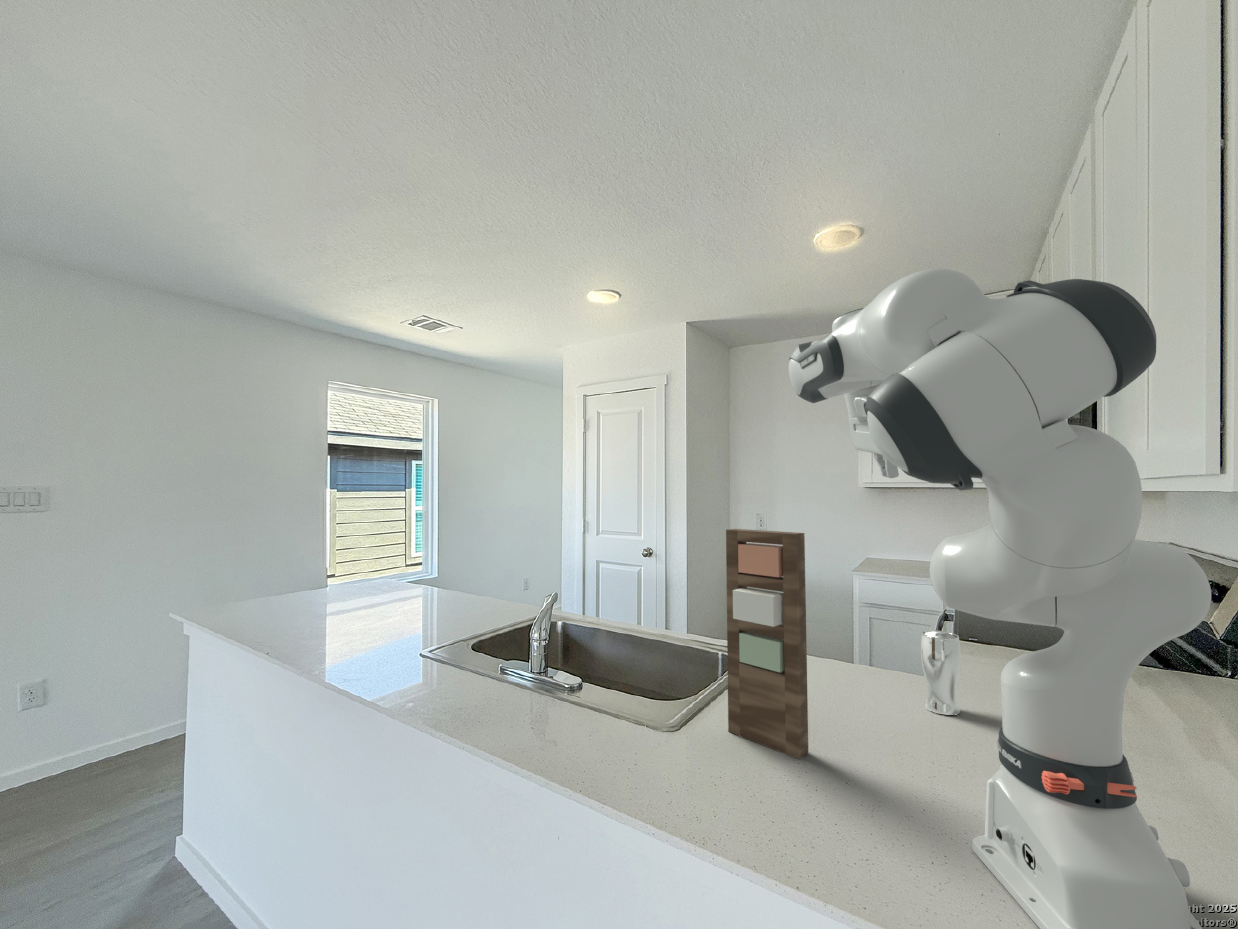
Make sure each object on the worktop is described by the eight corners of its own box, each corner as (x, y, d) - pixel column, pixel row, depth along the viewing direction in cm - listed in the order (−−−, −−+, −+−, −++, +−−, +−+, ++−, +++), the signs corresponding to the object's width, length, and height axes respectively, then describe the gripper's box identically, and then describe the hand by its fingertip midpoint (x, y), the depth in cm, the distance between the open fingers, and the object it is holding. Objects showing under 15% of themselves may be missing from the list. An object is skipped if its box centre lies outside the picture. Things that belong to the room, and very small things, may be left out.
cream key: (773, 626, 89) (773, 596, 89) (733, 618, 95) (732, 590, 95) (785, 622, 92) (785, 593, 92) (745, 614, 97) (745, 587, 98)
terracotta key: (778, 577, 91) (778, 547, 91) (738, 572, 96) (738, 544, 97) (790, 574, 93) (789, 546, 94) (750, 569, 99) (750, 542, 99)
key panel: (799, 759, 88) (795, 534, 89) (728, 731, 98) (726, 529, 99) (808, 753, 90) (804, 533, 91) (737, 726, 100) (735, 528, 101)
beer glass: (969, 718, 103) (966, 640, 103) (930, 715, 104) (927, 638, 105) (954, 704, 110) (951, 630, 110) (917, 701, 111) (915, 629, 112)
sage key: (780, 672, 90) (779, 642, 90) (739, 661, 96) (739, 633, 96) (791, 667, 93) (791, 638, 93) (751, 656, 98) (751, 629, 99)
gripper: (835, 406, 105) (851, 473, 106) (880, 406, 84) (899, 489, 86) (867, 398, 104) (882, 465, 106) (920, 396, 84) (938, 479, 85)
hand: (890, 476), depth 95 cm, fingers closed
